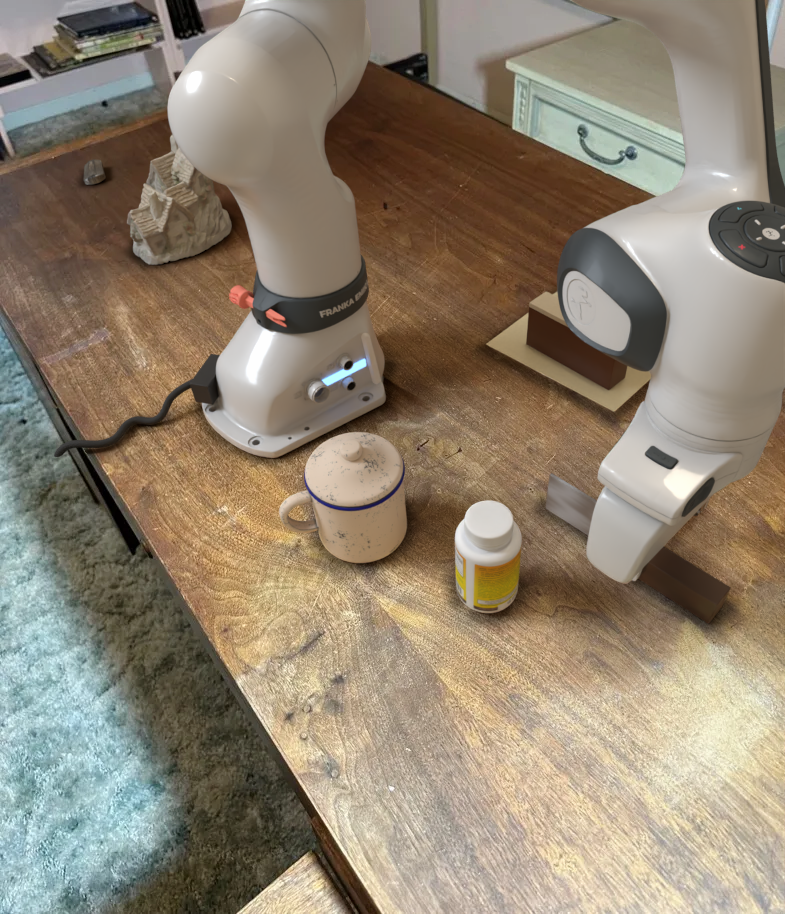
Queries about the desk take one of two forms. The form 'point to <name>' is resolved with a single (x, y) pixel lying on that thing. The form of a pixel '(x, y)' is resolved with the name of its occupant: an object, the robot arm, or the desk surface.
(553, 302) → the tan-topped brown brick
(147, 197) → the ceramic cottage
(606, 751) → the desk surface
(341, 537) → the teacup with lid
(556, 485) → the knife
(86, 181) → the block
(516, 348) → the platter
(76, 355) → the desk surface
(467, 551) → the supplement bottle
